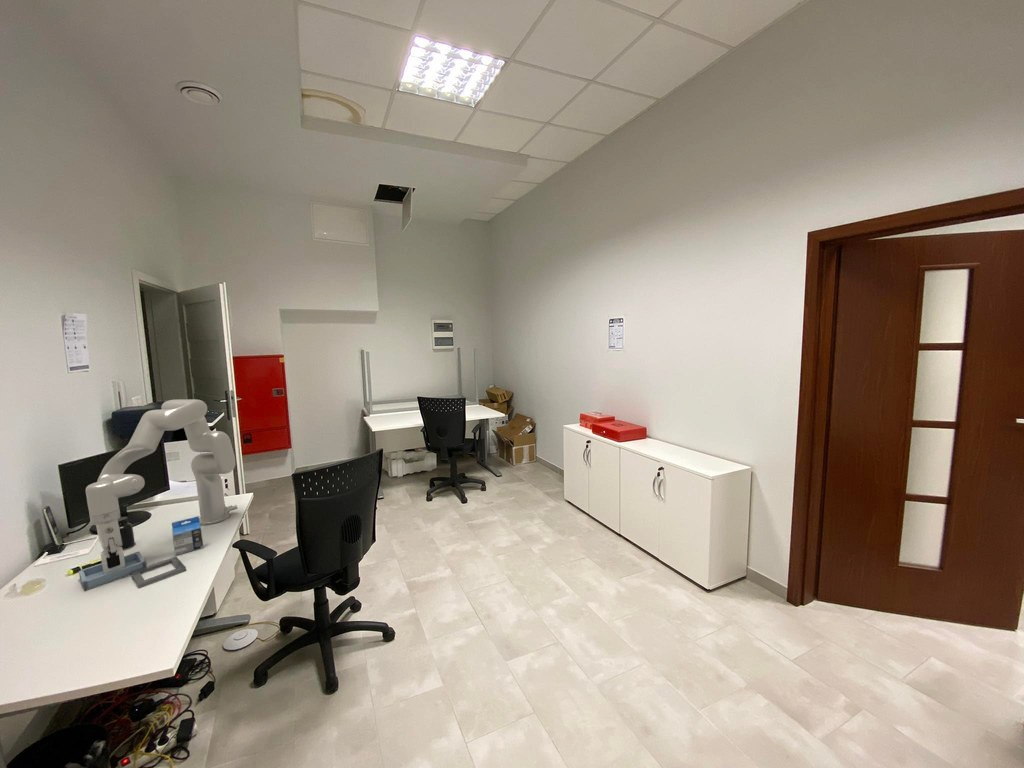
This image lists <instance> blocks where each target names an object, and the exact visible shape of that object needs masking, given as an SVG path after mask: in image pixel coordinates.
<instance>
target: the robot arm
mask: <svg viewBox="0 0 1024 768" xmlns="http://www.w3.org/2000/svg"><path fill="white" fill-rule="evenodd" d="M160 408H161V409H152V410H148V411H146V412H145V413H143V415H142V416H141V417H140V420H139V423H138V424H137V426H136V428H135V430H134V432H133V434H132V436H131V438H130V440H129V442H128V444H127V445H125V447H124V448H122V449H121V450H120V451H118V452H117V453H116V454H115V455H113V456H112V457H111V458H110V459H109V460H108V461H107V462H106V464H104V467H103V468H102V470H101V472H100V474H99V476H98V478H97V481H96V482H93V483H90V484H88V485H87V486H86V487H85V495H86V503H87V508H88V512H89V513H88V514H89V520H90V525H93V526H96V532H97V536H98V538H99V539H98V542H99V543H100V546H101V548H102V550H103V551H106V553H107V558H106V560H107V566H108V569H110V568H113V567H116V566H119V565H120V558H119V554H118V550H117V545H118V546H122V545H123V544H122V540H121V534H120V529H119V524H118V521H117V519H119V518H120V517H122V516H121V510H120V505H119V499H120V498H124V497H129V496H132V495H135V494H137V493H139V492H140V491H142V489H143V488H145V484H146V483H145V478H144V477H143V476H142V475H139V474H133V473H128V474H127V473H125V471H126V470H127V468H129V466H130V465H131V464H133V463H134V462H136V461H138V460H140V459H142V458H145V457H147V456H149V455H151V454H153V453H154V452H155V451H156V450H157V449H158V446H159V443H160V441H161V439H162V437H163V435H164V433H165V431H177V430H180V429H184V432H185V433H184V434H185V437H186V438H187V443H188V445H189V448H190V450H191V451H193V452H194V453H199V454H197V455H195V456H194V457H193V458H192V460H191V463H190V467H191V471H192V472H193V476H194V480H195V482H196V483H195V484H196V489H197V490H196V491H197V501H198V507H199V515H200V516H199V521H200V526H207V525H213V524H217V523H220V522H223V521H226V520H227V519H228V518H229V517H231V511H236V510H238V505H237V504H235V505H229V506H226V504H225V503H226V501H225V494H224V486H223V479H222V477H221V475H225V474H229V473H231V472H232V471H234V469H235V467H236V456H235V452H234V449H233V445H232V441H231V438H230V436H229V435H228V434H227V433H225V432H224V431H222V430H221V431H220V430H211V429H210V426H209V424H208V422H207V419H206V417H205V416H206V415H207V412H208V406H207V404H206V403H205V401H203V400H200V399H194V398H193V399H183V398H182V399H170V400H165V401H164V402H163V403H162V405H161V407H160ZM108 542H109V543H108ZM116 544H117V545H116ZM108 547H110V548H109V549H108ZM109 551H110V552H109Z"/></svg>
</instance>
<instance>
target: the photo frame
mask: <svg viewBox="0 0 1024 768" xmlns="http://www.w3.org/2000/svg"><path fill="white" fill-rule="evenodd" d="M91 539H95V540H94V542H93V543H92V544H91V546H90V547H88V548H84V549H79V550H76V551H71V552H67V553H62V554H59V555H54V556H50V557H49V556H48V557H46V556H47V555H48V554H49V553H48V552H46V551H45V552H44V553H43V555H42V556H41V557H40V558H39V559H38V561H37V562H35V564H34V566H33V567H35V568H36V567H39V566H44V565H48V564H52V563H57V562H61V561H65V560H69V559H73V558H78V557H83V556H87V555H89V554H91V552H92V550H93V549H94V547H95V545H96V544H97V543H98V542H99V538H98V535H97V536H92V537H89V538H83V539H79V540H74V541H70V542H65V543H63V544H64V545H68V544H74V543H78V542H83V541H87V540H91Z"/></svg>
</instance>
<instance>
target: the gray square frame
mask: <svg viewBox="0 0 1024 768" xmlns="http://www.w3.org/2000/svg"><path fill="white" fill-rule="evenodd" d="M170 564H171V565H172V566H173V567H174V569H171V570H168V571H165V572H163V573H160V574H158V575H155V576H152V577H150V578H147V579H145V578H144V577H143V576H142V574H145V573H147V572H150V571H153V570H156V569H160V568H162V567H165V566H168V565H170ZM146 566H147V567H144V568H141V569H138V570H135V571H132V572H130V574H131V575H130V577H131V578H132V580H133V582H134V583H135V585H136V586H137V588H138V589H140V588H142V587H145V586H149V585H151V584H154V583H157V582H159V581H162V580H164V579H168V578H170V577H173V576H176V575H178V574H181V573H183V572H185V571H187V567H186V565H185V564H184V563H183V562H182V561H181V560H180V559H179V558H178V557H177V555H175V556H173V557H170V558H167V559H165V560H161V561H159V562H155V563H152V564H149V565H146Z"/></svg>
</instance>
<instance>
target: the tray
mask: <svg viewBox="0 0 1024 768" xmlns="http://www.w3.org/2000/svg"><path fill="white" fill-rule="evenodd" d="M124 559H125V567H124V568H122V569H119V570H116V571H113V572H110V573H107V574H105V573H104V572H103V566H102V562H101V563H99V564H96V565H93V566H89V567H86V568H83V569H80V570H78V575H79V580H80V583H81V585H82V588H83V591H84V592H87V591H88V590H91V589H93V588H97V587H101V586H103V585H105V584H108V583H112V582H115V581H117V580H119V579H122V578H125V577H129V576H131V574H130V572H132V571H135V570H138V569H141V568H144V567H147V566H148V565H147V560H146V559H145V557H143V555H142V554H141V552H140V551H136V552H132V553H129V554H126V555H124Z"/></svg>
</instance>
